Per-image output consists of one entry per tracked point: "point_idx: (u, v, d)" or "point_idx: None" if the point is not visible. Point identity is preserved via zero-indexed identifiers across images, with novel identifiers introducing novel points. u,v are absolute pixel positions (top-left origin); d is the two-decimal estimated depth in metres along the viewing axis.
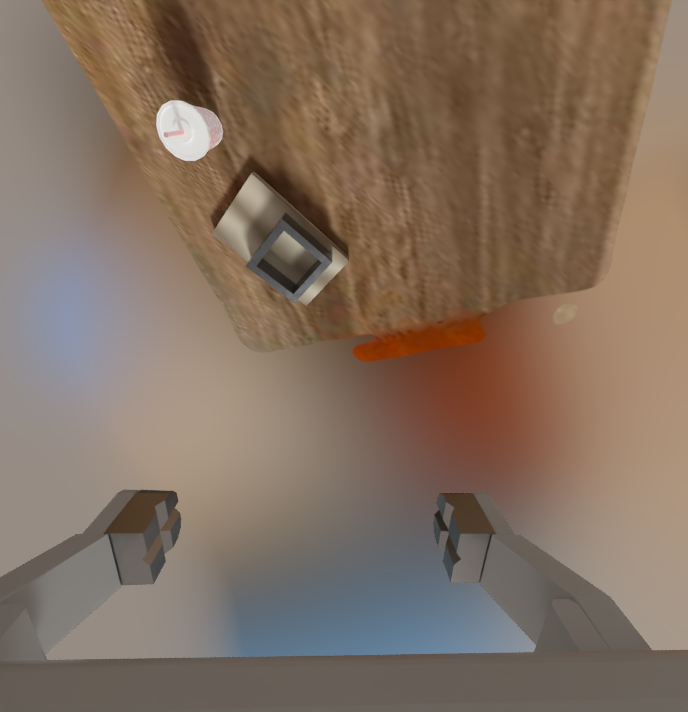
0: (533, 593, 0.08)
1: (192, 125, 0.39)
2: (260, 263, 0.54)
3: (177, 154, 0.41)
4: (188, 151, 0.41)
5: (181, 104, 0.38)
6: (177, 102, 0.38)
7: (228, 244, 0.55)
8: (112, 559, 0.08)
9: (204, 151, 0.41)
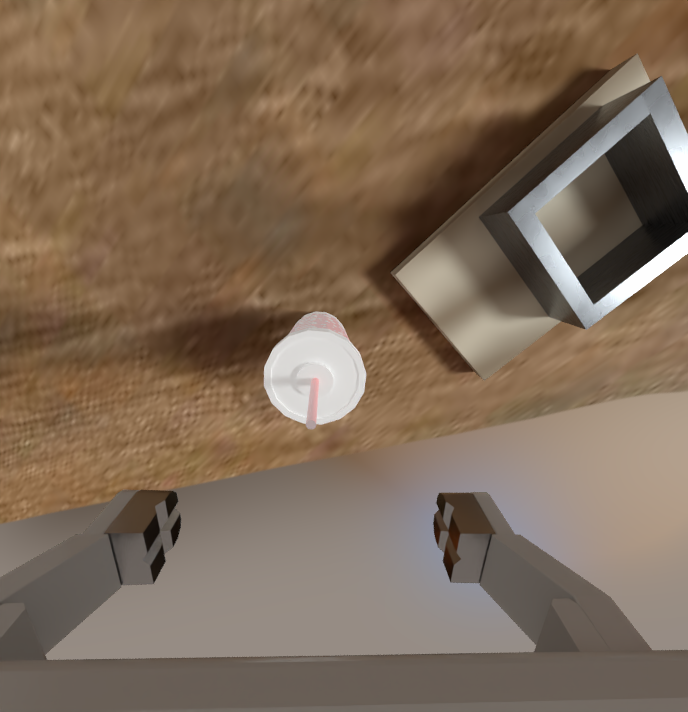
0: (533, 593, 0.08)
1: (305, 357, 0.19)
2: None
3: (352, 403, 0.20)
4: (348, 379, 0.19)
5: (270, 367, 0.19)
6: (267, 373, 0.19)
7: (511, 354, 0.27)
8: (112, 559, 0.08)
9: (351, 349, 0.19)
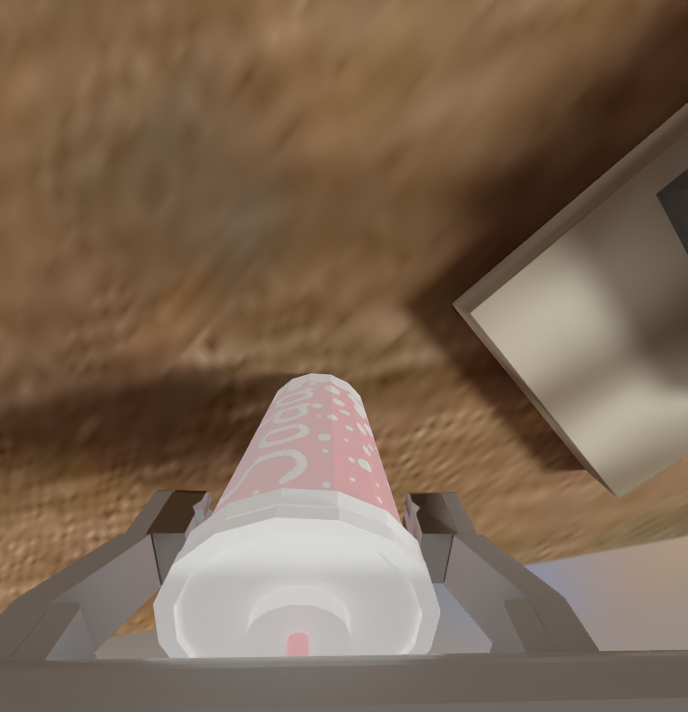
0: (491, 593, 0.07)
1: (270, 577, 0.07)
2: None
3: None
4: (390, 621, 0.07)
5: (171, 604, 0.07)
6: (163, 618, 0.07)
7: (674, 456, 0.14)
8: (154, 559, 0.08)
9: (404, 558, 0.06)
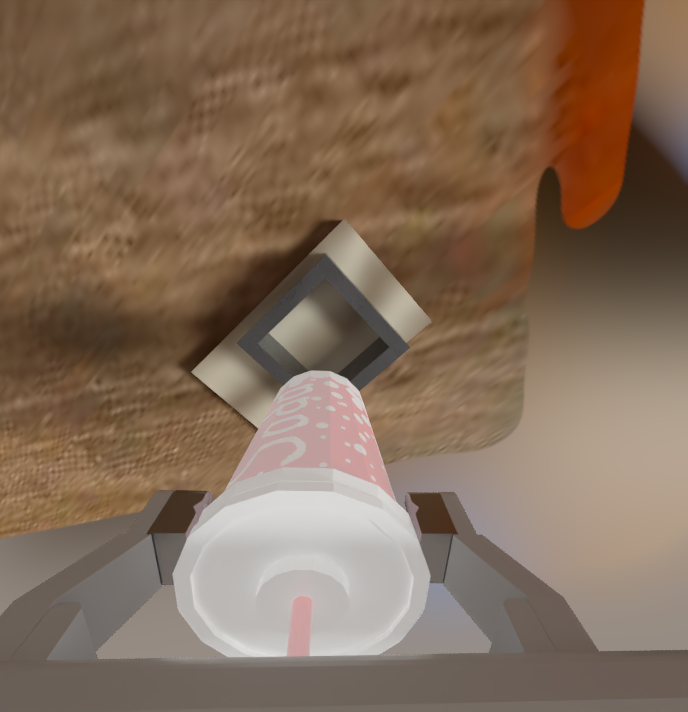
0: (490, 593, 0.07)
1: (275, 546, 0.07)
2: None
3: (395, 633, 0.08)
4: (385, 586, 0.08)
5: (188, 573, 0.07)
6: (181, 587, 0.08)
7: None
8: (154, 559, 0.08)
9: (394, 526, 0.07)
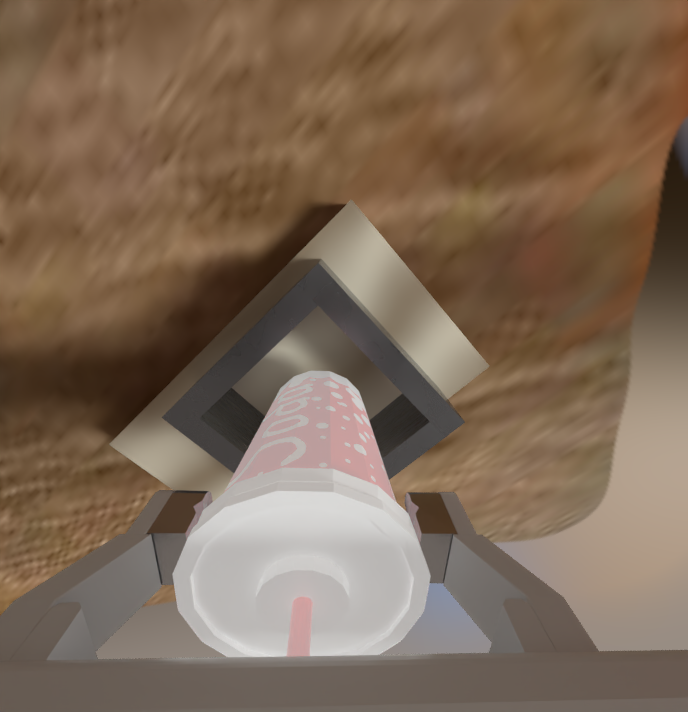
0: (490, 593, 0.07)
1: (275, 547, 0.07)
2: None
3: (395, 634, 0.08)
4: (385, 586, 0.08)
5: (188, 574, 0.07)
6: (182, 587, 0.08)
7: None
8: (154, 559, 0.08)
9: (394, 526, 0.07)
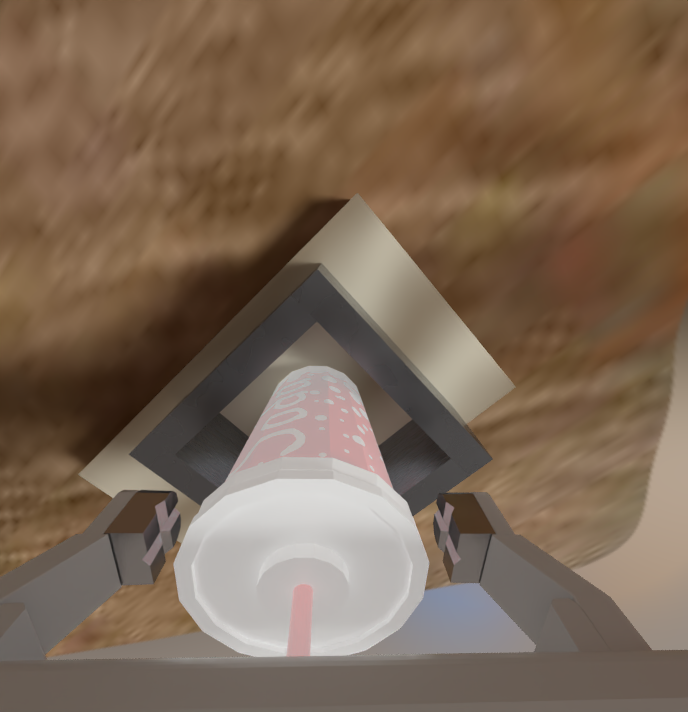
0: (533, 593, 0.08)
1: (275, 535, 0.07)
2: None
3: (395, 621, 0.08)
4: (385, 573, 0.08)
5: (189, 563, 0.07)
6: (183, 576, 0.08)
7: None
8: (112, 559, 0.08)
9: (393, 513, 0.07)
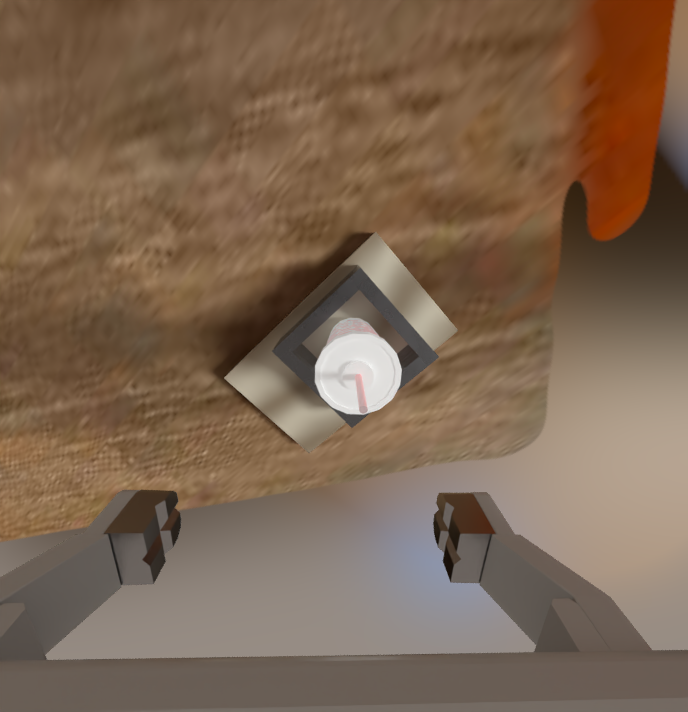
0: (533, 593, 0.08)
1: (349, 356, 0.22)
2: None
3: (390, 395, 0.23)
4: (386, 375, 0.23)
5: (320, 366, 0.22)
6: (317, 371, 0.22)
7: (326, 434, 0.34)
8: (112, 559, 0.08)
9: (389, 348, 0.22)
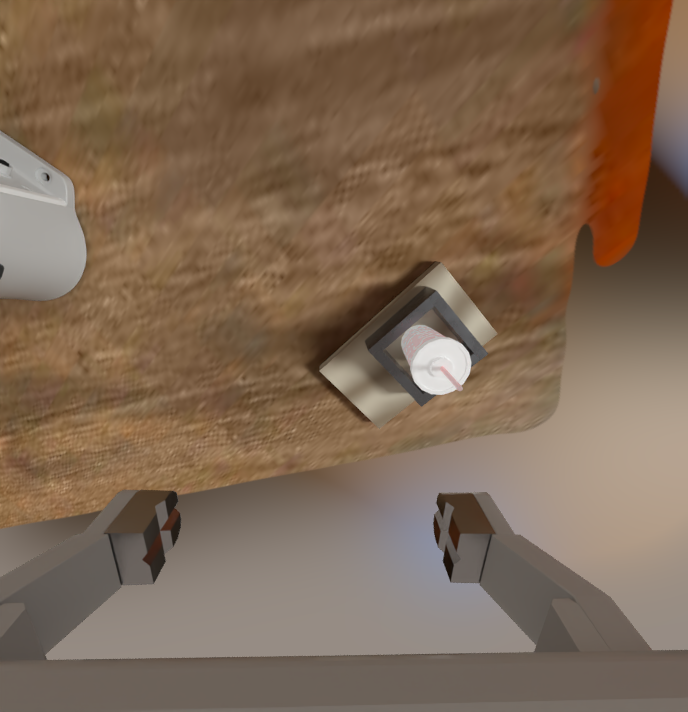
0: (533, 593, 0.08)
1: (436, 354, 0.32)
2: None
3: (461, 381, 0.33)
4: (460, 367, 0.33)
5: (416, 361, 0.32)
6: (414, 364, 0.33)
7: (393, 414, 0.44)
8: (112, 559, 0.08)
9: (464, 348, 0.32)
